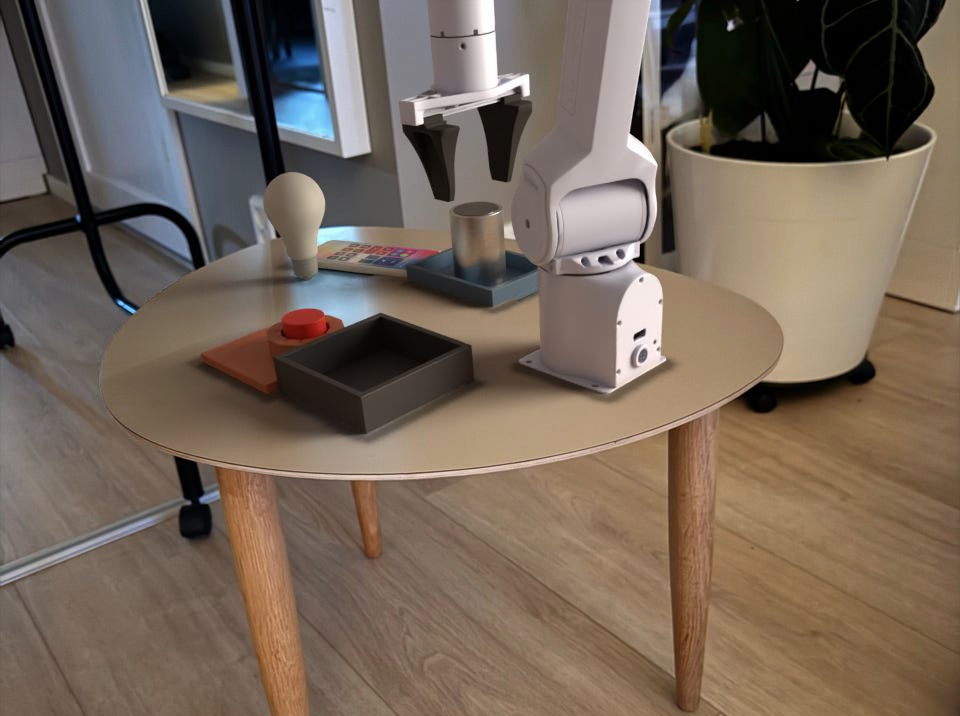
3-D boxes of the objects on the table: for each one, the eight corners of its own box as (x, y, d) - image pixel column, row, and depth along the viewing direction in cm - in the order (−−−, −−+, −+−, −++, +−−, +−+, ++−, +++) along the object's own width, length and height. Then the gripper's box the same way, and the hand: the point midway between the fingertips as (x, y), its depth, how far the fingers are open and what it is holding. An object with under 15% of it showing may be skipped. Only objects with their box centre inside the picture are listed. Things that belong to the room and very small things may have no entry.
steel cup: (517, 276, 95) (514, 206, 91) (480, 291, 92) (475, 220, 88) (480, 265, 98) (476, 197, 94) (444, 280, 95) (437, 210, 91)
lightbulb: (332, 288, 96) (314, 179, 91) (272, 291, 97) (251, 183, 91) (340, 267, 102) (324, 163, 96) (284, 271, 102) (264, 167, 96)
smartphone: (330, 238, 107) (446, 250, 101) (331, 246, 108) (447, 258, 102) (291, 258, 102) (412, 272, 96) (293, 267, 102) (412, 281, 96)
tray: (557, 282, 94) (557, 263, 93) (493, 311, 88) (491, 291, 87) (471, 258, 101) (470, 240, 100) (407, 284, 96) (405, 265, 95)
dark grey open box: (475, 384, 76) (471, 344, 74) (366, 439, 69) (360, 397, 68) (385, 349, 83) (380, 312, 81) (279, 396, 76) (271, 356, 75)
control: (363, 358, 82) (358, 325, 80) (269, 399, 76) (262, 366, 74) (294, 329, 88) (289, 299, 86) (203, 365, 82) (195, 334, 81)
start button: (335, 331, 80) (332, 314, 79) (301, 345, 78) (298, 328, 77) (310, 321, 82) (307, 304, 82) (276, 335, 80) (273, 318, 80)
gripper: (488, 20, 89) (496, 167, 96) (369, 43, 81) (388, 202, 88) (544, 22, 85) (548, 176, 92) (424, 47, 76) (439, 214, 84)
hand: (473, 189), depth 90 cm, fingers open, 7 cm apart
